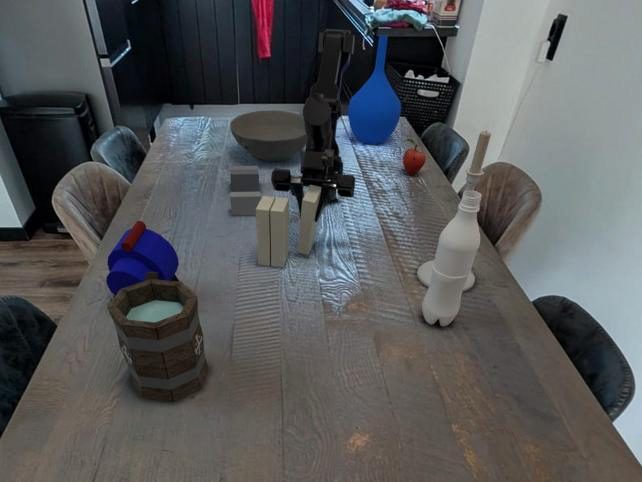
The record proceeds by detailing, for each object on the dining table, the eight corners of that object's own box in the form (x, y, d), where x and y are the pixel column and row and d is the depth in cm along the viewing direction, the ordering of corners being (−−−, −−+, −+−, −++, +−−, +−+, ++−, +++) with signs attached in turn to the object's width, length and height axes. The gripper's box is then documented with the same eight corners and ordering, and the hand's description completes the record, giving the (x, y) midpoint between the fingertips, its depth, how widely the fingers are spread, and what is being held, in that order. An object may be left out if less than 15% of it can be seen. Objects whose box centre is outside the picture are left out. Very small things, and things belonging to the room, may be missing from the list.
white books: (264, 250, 114) (262, 195, 105) (288, 252, 114) (288, 198, 104) (258, 264, 110) (255, 209, 100) (283, 267, 109) (283, 211, 100)
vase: (368, 128, 180) (380, 28, 159) (406, 141, 171) (424, 37, 150) (335, 138, 172) (342, 34, 150) (373, 152, 163) (386, 43, 141)
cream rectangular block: (304, 236, 116) (310, 184, 106) (315, 238, 116) (322, 187, 106) (296, 252, 112) (302, 199, 102) (308, 254, 112) (314, 202, 102)
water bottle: (415, 309, 99) (445, 185, 81) (448, 308, 99) (485, 185, 81) (424, 330, 94) (458, 203, 76) (459, 329, 95) (501, 203, 76)
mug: (214, 394, 80) (203, 321, 69) (131, 408, 78) (106, 334, 67) (199, 326, 93) (188, 256, 82) (128, 336, 90) (107, 264, 80)
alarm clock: (186, 287, 102) (174, 219, 92) (162, 319, 94) (146, 249, 83) (133, 279, 104) (116, 211, 93) (106, 310, 96) (83, 240, 85)
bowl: (325, 153, 161) (327, 120, 153) (282, 178, 145) (282, 142, 138) (262, 137, 170) (261, 105, 163) (215, 159, 155) (212, 125, 147)
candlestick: (406, 268, 110) (436, 123, 88) (451, 258, 114) (491, 116, 92) (438, 297, 102) (480, 145, 80) (486, 286, 106) (538, 137, 84)
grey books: (258, 183, 142) (257, 165, 138) (261, 215, 127) (260, 196, 124) (231, 183, 141) (230, 166, 138) (231, 215, 127) (230, 196, 123)
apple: (416, 168, 153) (422, 134, 146) (426, 176, 149) (433, 141, 142) (394, 170, 152) (400, 136, 144) (404, 178, 147) (410, 143, 140)
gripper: (271, 128, 100) (262, 202, 101) (359, 135, 98) (349, 210, 99) (278, 155, 111) (270, 222, 112) (358, 161, 110) (349, 229, 110)
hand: (308, 220), depth 108 cm, fingers closed on cream rectangular block, 3 cm apart
